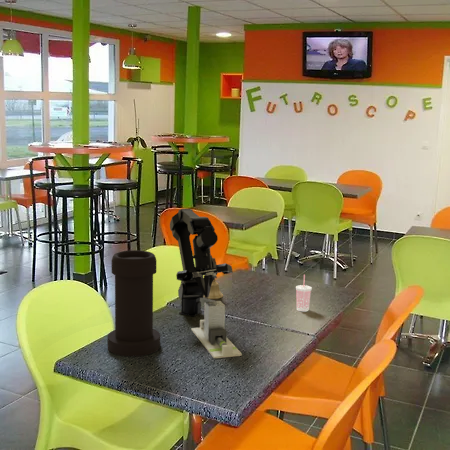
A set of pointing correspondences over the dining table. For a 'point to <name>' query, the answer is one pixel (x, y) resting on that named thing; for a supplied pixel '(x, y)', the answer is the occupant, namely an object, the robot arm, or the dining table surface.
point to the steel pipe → (219, 340)
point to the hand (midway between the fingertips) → (206, 297)
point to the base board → (216, 345)
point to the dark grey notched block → (217, 333)
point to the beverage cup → (303, 296)
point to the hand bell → (215, 289)
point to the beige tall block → (213, 317)
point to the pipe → (133, 304)
